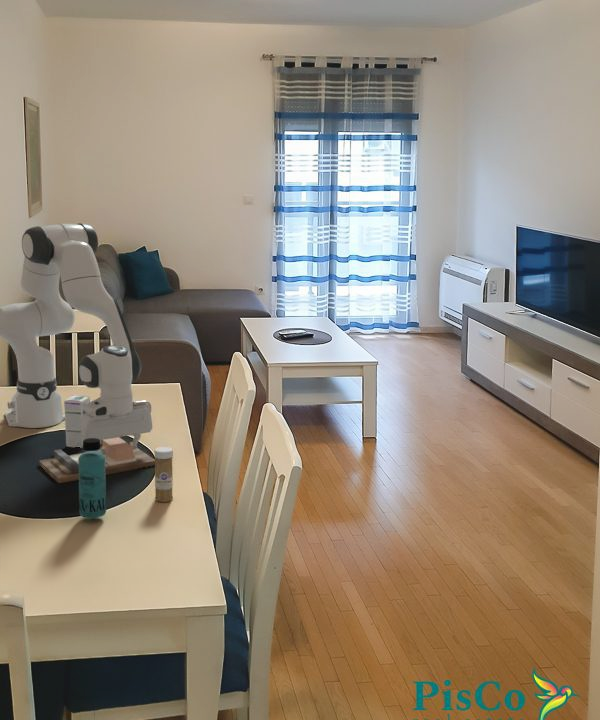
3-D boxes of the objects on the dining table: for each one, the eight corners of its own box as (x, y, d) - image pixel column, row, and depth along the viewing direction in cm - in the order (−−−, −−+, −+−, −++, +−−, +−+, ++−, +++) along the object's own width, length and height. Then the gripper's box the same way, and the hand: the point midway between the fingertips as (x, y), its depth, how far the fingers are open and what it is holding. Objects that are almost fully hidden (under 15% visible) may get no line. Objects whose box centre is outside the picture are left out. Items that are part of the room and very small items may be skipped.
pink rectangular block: (93, 453, 258) (92, 440, 257) (119, 449, 262) (119, 435, 261) (109, 466, 248) (109, 452, 247) (136, 461, 253) (136, 447, 252)
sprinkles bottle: (157, 503, 227) (157, 452, 224) (152, 497, 231) (152, 447, 228) (175, 501, 229) (175, 450, 226) (170, 495, 233) (169, 445, 230)
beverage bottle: (81, 514, 219) (78, 435, 215) (109, 513, 220) (107, 435, 215) (77, 524, 213) (74, 443, 209) (105, 524, 214) (103, 443, 209)
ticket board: (39, 465, 252) (38, 451, 251) (132, 449, 267) (132, 436, 266) (58, 483, 239) (58, 469, 238) (156, 465, 254) (155, 451, 253)
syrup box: (84, 448, 267) (82, 401, 264) (65, 446, 268) (63, 399, 265) (92, 442, 272) (90, 396, 269) (73, 441, 273) (72, 394, 270)
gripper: (146, 396, 261) (147, 442, 264) (77, 406, 249) (79, 454, 252) (155, 402, 256) (156, 448, 259) (86, 412, 244) (87, 460, 247)
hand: (117, 451), depth 255 cm, fingers open, 8 cm apart
